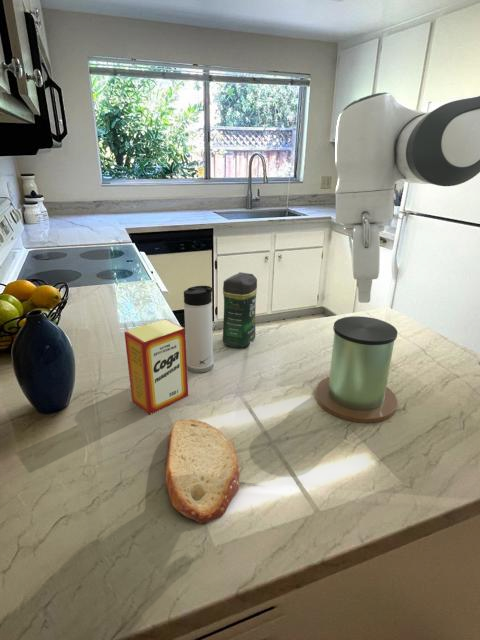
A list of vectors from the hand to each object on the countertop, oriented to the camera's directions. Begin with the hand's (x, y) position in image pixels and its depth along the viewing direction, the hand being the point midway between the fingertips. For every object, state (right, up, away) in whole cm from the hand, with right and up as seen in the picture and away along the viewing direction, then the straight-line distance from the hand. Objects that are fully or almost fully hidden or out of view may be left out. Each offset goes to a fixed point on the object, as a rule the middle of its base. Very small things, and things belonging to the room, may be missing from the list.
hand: (362, 293), depth 69 cm
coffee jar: (-21, -10, +41) cm, 47 cm away
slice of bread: (-28, -29, -3) cm, 40 cm away
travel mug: (-30, -16, +28) cm, 44 cm away
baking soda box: (-37, -21, +15) cm, 46 cm away
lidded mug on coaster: (+3, -21, +13) cm, 25 cm away
